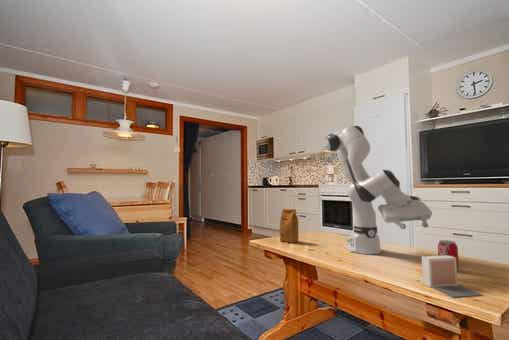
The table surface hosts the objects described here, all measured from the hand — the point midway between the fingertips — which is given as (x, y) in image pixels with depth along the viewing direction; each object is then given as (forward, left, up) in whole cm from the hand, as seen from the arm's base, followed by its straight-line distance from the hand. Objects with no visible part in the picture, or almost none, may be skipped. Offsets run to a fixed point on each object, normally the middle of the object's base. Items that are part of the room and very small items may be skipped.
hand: (415, 227), depth 108 cm
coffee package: (-73, -36, -20) cm, 84 cm away
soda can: (-4, +18, -20) cm, 27 cm away
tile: (+11, 0, -19) cm, 22 cm away
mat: (+18, 0, -19) cm, 26 cm away
